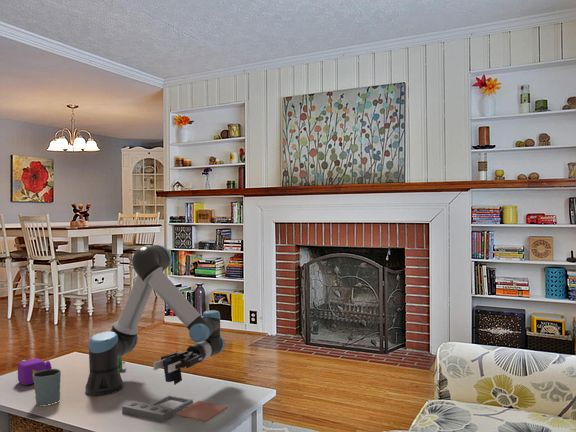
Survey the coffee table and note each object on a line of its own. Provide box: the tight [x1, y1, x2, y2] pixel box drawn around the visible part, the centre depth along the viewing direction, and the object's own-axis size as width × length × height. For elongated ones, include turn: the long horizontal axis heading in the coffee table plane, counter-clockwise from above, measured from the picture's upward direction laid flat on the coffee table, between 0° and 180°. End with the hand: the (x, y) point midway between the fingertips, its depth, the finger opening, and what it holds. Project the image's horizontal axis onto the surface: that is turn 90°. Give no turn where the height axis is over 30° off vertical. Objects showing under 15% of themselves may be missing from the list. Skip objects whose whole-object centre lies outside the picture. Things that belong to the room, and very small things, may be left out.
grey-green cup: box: [33, 368, 62, 405], centre depth 197 cm, size 10×10×12 cm
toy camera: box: [17, 358, 53, 386], centre depth 223 cm, size 11×14×10 cm
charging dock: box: [121, 394, 194, 423], centre depth 189 cm, size 20×20×3 cm
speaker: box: [163, 354, 183, 386], centre depth 191 cm, size 8×6×10 cm
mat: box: [174, 400, 229, 422], centre depth 185 cm, size 14×14×1 cm
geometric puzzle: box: [118, 356, 126, 371], centre depth 237 cm, size 7×7×8 cm
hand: (161, 367), depth 187 cm, fingers closed on speaker, 6 cm apart
